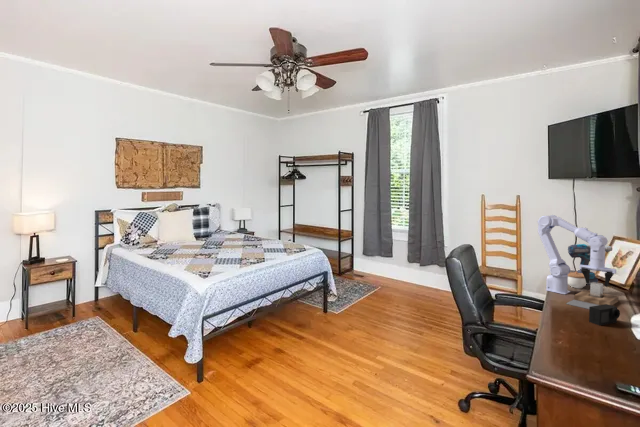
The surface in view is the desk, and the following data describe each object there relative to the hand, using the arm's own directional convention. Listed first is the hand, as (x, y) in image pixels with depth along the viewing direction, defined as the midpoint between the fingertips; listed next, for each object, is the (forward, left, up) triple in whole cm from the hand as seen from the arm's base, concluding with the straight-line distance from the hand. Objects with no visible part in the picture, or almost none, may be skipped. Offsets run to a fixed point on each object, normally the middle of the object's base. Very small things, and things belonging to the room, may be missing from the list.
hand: (596, 284), depth 165 cm
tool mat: (0, -13, -8) cm, 16 cm away
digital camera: (+12, -33, -9) cm, 36 cm away
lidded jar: (-15, +20, -9) cm, 26 cm away
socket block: (0, 0, -8) cm, 8 cm away
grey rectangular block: (0, 0, -8) cm, 8 cm away
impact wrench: (-13, +34, -9) cm, 37 cm away
